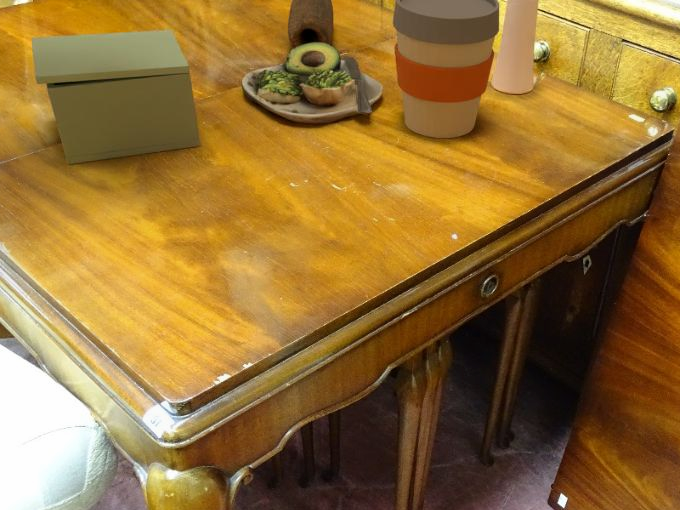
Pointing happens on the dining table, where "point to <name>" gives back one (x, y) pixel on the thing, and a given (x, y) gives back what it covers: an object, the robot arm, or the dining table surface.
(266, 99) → the avocado toast plate
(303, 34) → the stone weight
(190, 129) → the storage box
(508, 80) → the cosmetic bottle
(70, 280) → the dining table surface
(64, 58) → the box lid
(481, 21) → the reusable coffee cup
